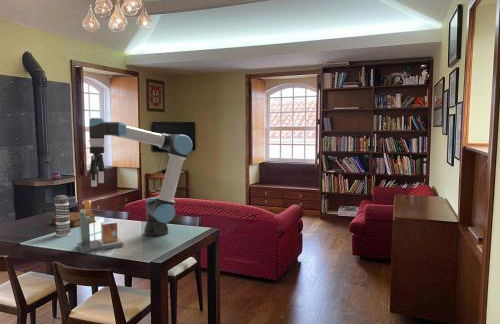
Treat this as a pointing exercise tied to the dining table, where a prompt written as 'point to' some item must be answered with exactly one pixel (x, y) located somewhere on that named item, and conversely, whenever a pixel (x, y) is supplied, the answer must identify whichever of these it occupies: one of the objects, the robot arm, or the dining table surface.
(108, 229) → the small box
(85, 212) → the press lever
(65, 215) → the decorative candle
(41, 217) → the dining table surface
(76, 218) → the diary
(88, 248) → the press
